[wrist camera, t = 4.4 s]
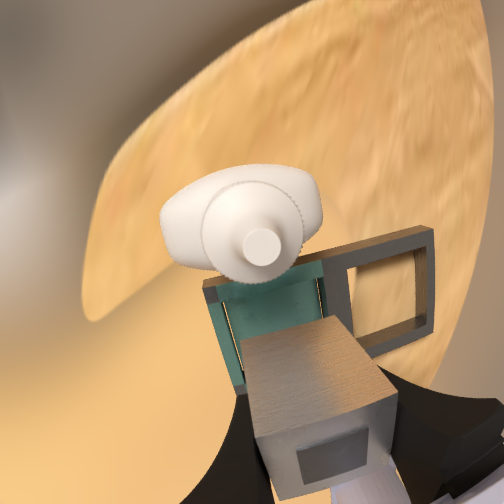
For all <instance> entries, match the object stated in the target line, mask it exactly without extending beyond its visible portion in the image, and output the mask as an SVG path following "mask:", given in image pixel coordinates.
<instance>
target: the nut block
mask: <svg viewBox="0 0 504 504" xmlns="http://www.w3.org/2000/svg"><path fill="white" fill-rule="evenodd" d="M240 345H241V352H242V358H243V365H244V372H245V378H246V385H247V391H248V398H249V404H250V410H251V416H252V423H253V429H254V435H255V439H256V442H257V445H258V447H259V450H260V453H261V455H262V458H263V461H264V463H265V466H266V468H267V471H268V474H269V476H270V479H271V481H272V484H273V486H274V488H275V491H276V493H277V496H278V498H279V500H280V501H282V500H286V499H291V498H294V497H299V496H303V495H306V494H310V493H314V492H317V491H321V490H324V489H327V488H330V487H334V486H337V485H340V484H343V483H346V482H348V481H351V480H354V479H357V478H359V477H362V476H365V475H367V474H370V473H372V472H375V471H377V470H380V469H382V468H384V467H386V466H388V465H389V459H390V454H391V448H392V441H393V435H394V427H395V420H396V411H397V402H398V391H397V390H396V388H395V387H394V386H393V385H392V383H391V382H390V381H389V380H388V378H387V377H386V376H385V375H384V374H383V372H382V371H381V370H380V369H379V367H378V366H377V365H376V364H375V363H374V361H373V360H372V359H371V358H370V356H369V355H368V354H367V353H366V352H365V350H364V349H363V348H362V347H361V346H360V344H359V343H358V342H357V341H356V340H355V338H354V337H353V336H352V335H351V333H350V332H349V331H348V330H347V329H346V328H345V326H344V325H343V324H342V323H341V322H340V320H339V319H338V318H337V317H336V316H335V315H332V316H329V317H326V318H322V319H319V320H315V321H312V322H308V323H305V324H301V325H298V326H294V327H290V328H287V329H283V330H279V331H275V332H271V333H267V334H263V335H259V336H255V337H251V338H247V339H243V340H240Z"/></svg>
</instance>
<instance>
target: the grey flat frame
mask: <svg viewBox="0 0 504 504" xmlns="http://www.w3.org/2000/svg"><path fill="white" fill-rule="evenodd" d="M411 250H414V254H415V278H416V317H414V318H411V319H409V320H406V321H404V322H401V323H399V324H396V325H393V326H391V327H388V328H385V329H383V330H380V331H377V332H374V333H372V334H369V335H366V336H363V337H360V338H357V339H355V340H356V341H357V342H358V343H359V344H360V346H361V347H362V348H363V349H364V350H365V352H366V353H367V354H368V355H369V356H370V358H373V357H376V356H379V355H381V354H384V353H386V352H389V351H392V350H394V349H396V348H399V347H401V346H404V345H406V344H409V343H411V342H413V341H415V340H418V339H420V338H422V337H425V336H427V335H429V334H431V333H433V327H434V309H435V250H434V231H433V228H429V227H426V226H422V225H419V226H415V227H412V228H408V229H404V230H400V231H397V232H393V233H389V234H385V235H381V236H378V237H374V238H370V239H366V240H362V241H358V242H355V243H351V244H347V245H343V246H339V247H335V248H331V249H327V250H323V251H319V252H315V253H312V254H308V255H304V256H300V257H298V258H296V262H294V263H293V266H290V267H289V270H286V272H285V273H282V274H281V276H277V278H276V279H272V281H269V280H268V281H267V282H266V283H265V282H263V283H261V284H260V283H257V284H256V285H255V284H254V283H253V284H251V285H250V284H249V283H247V284H244V283H239V282H238V281H237V282H234V280H229V277H225V276H224V275H222V276H218V277H214V278H209V279H205V280H203V287H202V289H203V292H204V296H205V300H206V303H207V306H208V310H209V313H210V316H211V319H212V323H213V326H214V329H215V332H216V335H217V338H218V342H219V345H220V348H221V351H222V354H223V357H224V360H225V363H226V366H227V369H228V372H229V375H230V378H231V381H232V384H233V387H234V390H235V393H236V395H237V396H238V395H241V394H246V393H248V391H247V385H246V378H245V372H244V371H243V370H242V367H241V364H240V360H239V357H238V354H237V350H236V347H235V344H234V341H233V337H232V333H231V330H230V326H229V323H228V320H227V317H226V312H225V309H224V305H223V302H224V304H225V308H226V311H227V315H228V318H229V322H230V325H231V329H232V332H233V336H234V339H235V342H236V346H237V349H238V353H239V356H240V359H241V362H242V366H243V369H244V365H243V358H242V352H241V345H240V340H243V339H247V338H251V337H255V336H259V335H263V334H267V333H271V332H275V331H279V330H283V329H287V328H290V327H294V326H298V325H301V324H305V323H308V322H312V321H315V320H319V319H322V316H323V318H326V317H329V316H332V315H335V316H336V317H337V318H338V319H339V320H340V322H341V323H342V324H343V325H344V326H345V328H346V329H347V330H348V331H349V332H350V333H351V335H352V336H353V324H352V313H351V302H350V294H349V284H348V275H347V269H349V268H353V267H357V266H360V265H364V264H367V263H370V262H374V261H377V260H381V259H384V258H388V257H391V256H394V255H398V254H401V253H404V252H408V251H411ZM316 278H317V281H316ZM317 282H318V287H317ZM318 289H319V293H318ZM319 295H320V300H319ZM320 302H321V307H320ZM321 309H322V314H321Z"/></svg>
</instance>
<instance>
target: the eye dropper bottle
mask: <svg viewBox="0 0 504 504" xmlns="http://www.w3.org/2000/svg"><path fill="white" fill-rule="evenodd" d="M159 220H160V225H161V230H162V234H163V237H164V241H165V244H166V247H167V250H168V253H169V255H170V256H171V258H172V259H173V261H175V262H176V263H178V264H180V265H183V266H186V267H190V268H196V269H202V270H213V271H220V274H221V275H224V276H225V277H229V280H234V282H237V281H238V282H239V283H244V284H247V283H249V284H250V285H251V284H253V283H254V284H255V285H256V284H257V283H260V284H261V283H263V282H265V283H266V282H267V281H268V280H269V281H272V279H276V278H277V276H281V274H282V273H285V272H286V270H289V267H290V266H293V263H294V262H296V258H298V257H299V256H298V254H299V253H300V252H301V250H300V249H301V248H302V247H303V246H302V244H303V243H305V242H306V241H307V240H309V239H310V238H311V237H312V236H313V235H314V234H315V233H316V232H317V231H318V230H319V228H320V227H321V225H322V221H323V212H322V205H321V199H320V194H319V190H318V187H317V183H316V181H315V179H314V178H313V176H312V175H311V174H309V173H308V172H306V171H304V170H301V169H298V168H294V167H290V166H284V165H276V164H249V165H241V166H236V167H231V168H227V169H223V170H220V171H217V172H214V173H212V174H209V175H207V176H204V177H202V178H200V179H198V180H196V181H194V182H193V183H191V184H189V185H188V186H186V187H184V188H183V189H182V190H180V191H179V192H177V193H176V194H175V195H174V196H172V197H171V198H170V199H169V200H168V201H167V202H166V203H165V204H164V206H163V207H162V209H161V211H160V219H159Z"/></svg>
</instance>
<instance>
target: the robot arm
mask: <svg viewBox="0 0 504 504" xmlns="http://www.w3.org/2000/svg"><path fill="white" fill-rule="evenodd" d="M377 366H378V365H377ZM378 367H379V369H380V370H381V371H382V372H383V374H384V375H385V376H386V377H387V378H388V380H389V381H390V382H391V383H392V385H393V386H394V387H395V388H396V390H397V391H398V402H397V411H396V420H395V427H394V435H393V441H392V448H391V454H390V459H389V465H388V466H386V467H384V468H382V469H380V470H377V471H375V472H372V473H370V474H367V475H365V476H362V477H359V478H357V479H354V480H351V481H348V482H346V483H343V484H340V485H337V486H334V487H330V490H331V504H504V444H503V442H504V438H503V437H502V436H501V433H502V431H503V429H504V405H503V404H502V403H501V402H500V401H499V400H497V399H496V398H466V397H458V396H452V395H447V394H443V393H439V392H435V391H432V390H429V389H426V388H423V387H420V386H417V385H415V384H413V383H410V382H408V381H406V380H404V379H402V378H400V377H398V376H396V375H394V374H392V373H390V372H388V371H387V370H385V369H383V368H381V367H380V366H378ZM396 468H397V470H398V472H399V474H400V476H401V479H402V481H403V483H404V486H405V487H404V486H403V484H402V482H401V481H400V479H399V477H398V476H397V474H396V472H395V471H396ZM405 488H406V489H405ZM180 504H275V502H274V498H273V493H272V489H271V483H270V476H269V474H268V471H267V468H266V466H265V463H264V461H263V458H262V455H261V453H260V450H259V447H258V445H257V442H256V439H255V435H254V429H253V423H252V416H251V410H250V404H249V398H248V393H246V394H241V395H238V396H237V398H236V404H235V409H234V413H233V417H232V420H231V423H230V426H229V429H228V432H227V435H226V437H225V439H224V442H223V444H222V446H221V448H220V451H219V452H218V454H217V456H216V458H215V460H214V461H213V463H212V465H211V466H210V468H209V470H208V471H207V473H206V474H205V475H204V477H203V478H202V480H201V481H200V482H199V483H198V484H197V486H196V487H195V488H194V489H193V490H192V492H191V493H190V494H189V495H188V496H187V497H186V498H185V499H184V500H183V501H182V502H181V503H180Z"/></svg>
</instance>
